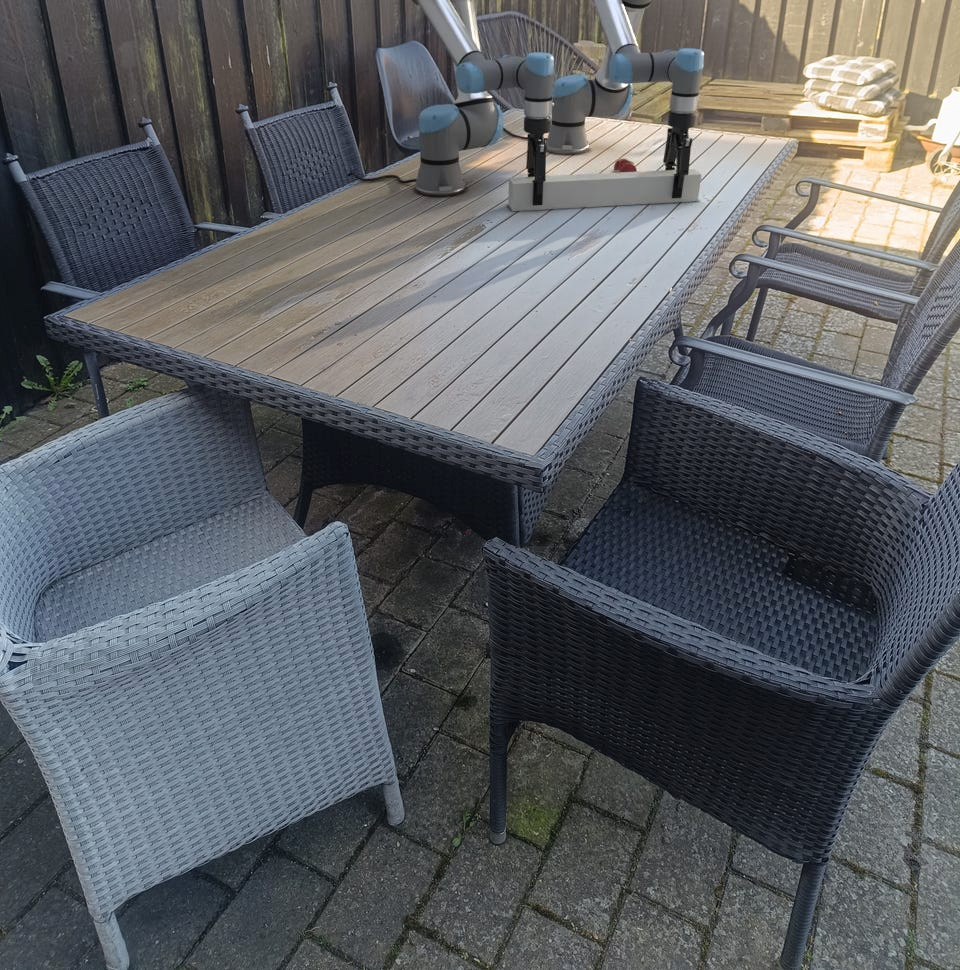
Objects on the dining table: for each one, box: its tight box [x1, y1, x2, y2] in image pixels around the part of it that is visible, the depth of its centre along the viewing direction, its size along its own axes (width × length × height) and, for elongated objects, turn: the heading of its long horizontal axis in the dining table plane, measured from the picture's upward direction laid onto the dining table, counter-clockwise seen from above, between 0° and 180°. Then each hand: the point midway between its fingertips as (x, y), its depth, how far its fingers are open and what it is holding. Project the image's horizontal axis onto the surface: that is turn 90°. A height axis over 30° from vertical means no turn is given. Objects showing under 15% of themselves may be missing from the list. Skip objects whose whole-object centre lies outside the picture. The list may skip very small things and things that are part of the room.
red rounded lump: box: [613, 158, 638, 172], centre depth 272 cm, size 6×4×8 cm
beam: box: [508, 168, 702, 212], centre depth 245 cm, size 56×6×8 cm, turn 99°
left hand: (534, 200), depth 244 cm, fingers open, 7 cm apart
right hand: (671, 193), depth 249 cm, fingers open, 7 cm apart
